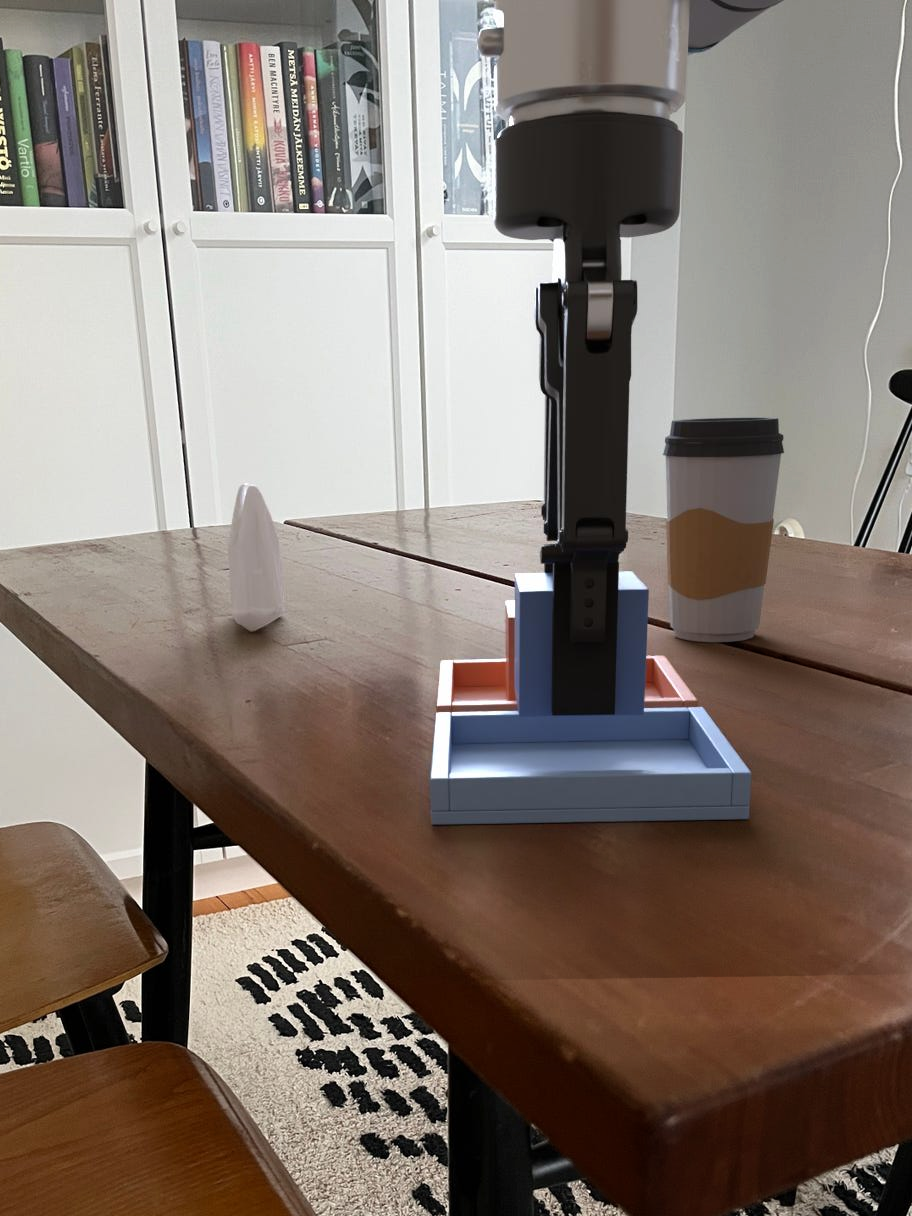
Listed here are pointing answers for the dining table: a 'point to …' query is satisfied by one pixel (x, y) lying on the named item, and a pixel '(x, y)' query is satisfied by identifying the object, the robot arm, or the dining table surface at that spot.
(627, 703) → the blue block
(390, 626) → the dining table surface
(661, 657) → the terracotta tray
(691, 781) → the blue tray
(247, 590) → the white pointed piece
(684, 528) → the coffee cup
